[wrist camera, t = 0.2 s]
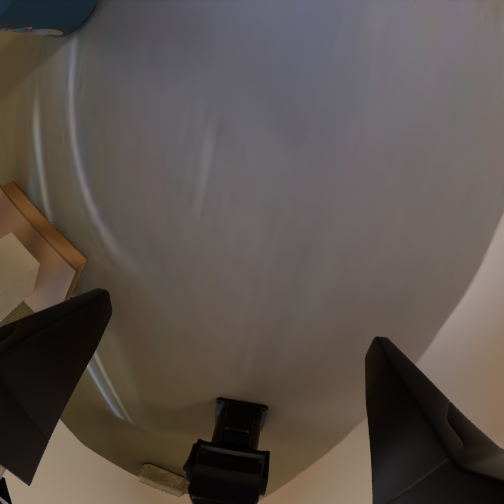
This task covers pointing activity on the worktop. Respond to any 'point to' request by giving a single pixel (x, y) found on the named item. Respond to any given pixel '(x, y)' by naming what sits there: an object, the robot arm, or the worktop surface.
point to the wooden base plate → (41, 249)
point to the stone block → (163, 480)
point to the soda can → (45, 16)
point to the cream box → (15, 274)
